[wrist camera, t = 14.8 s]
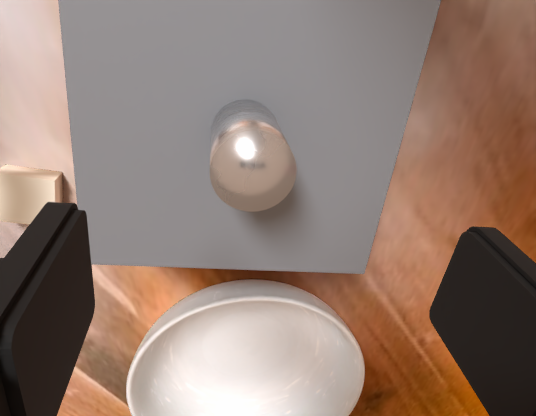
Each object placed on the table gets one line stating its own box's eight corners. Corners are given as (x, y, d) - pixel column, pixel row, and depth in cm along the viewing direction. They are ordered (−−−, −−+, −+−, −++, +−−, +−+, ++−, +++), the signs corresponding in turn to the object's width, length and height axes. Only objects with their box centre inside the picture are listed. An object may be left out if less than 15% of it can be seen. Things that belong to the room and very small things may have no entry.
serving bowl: (384, 295, 41) (413, 347, 35) (280, 422, 49) (289, 482, 43) (194, 215, 35) (189, 262, 29) (107, 376, 42) (89, 440, 36)
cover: (377, -23, 28) (529, -41, 14) (328, 206, 36) (396, 334, 22) (106, -66, 25) (-21, -137, 12) (117, 193, 33) (49, 330, 19)
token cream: (63, 170, 32) (54, 180, 30) (64, 215, 34) (55, 227, 32) (7, 163, 31) (-6, 173, 29) (11, 209, 33) (-1, 221, 31)
